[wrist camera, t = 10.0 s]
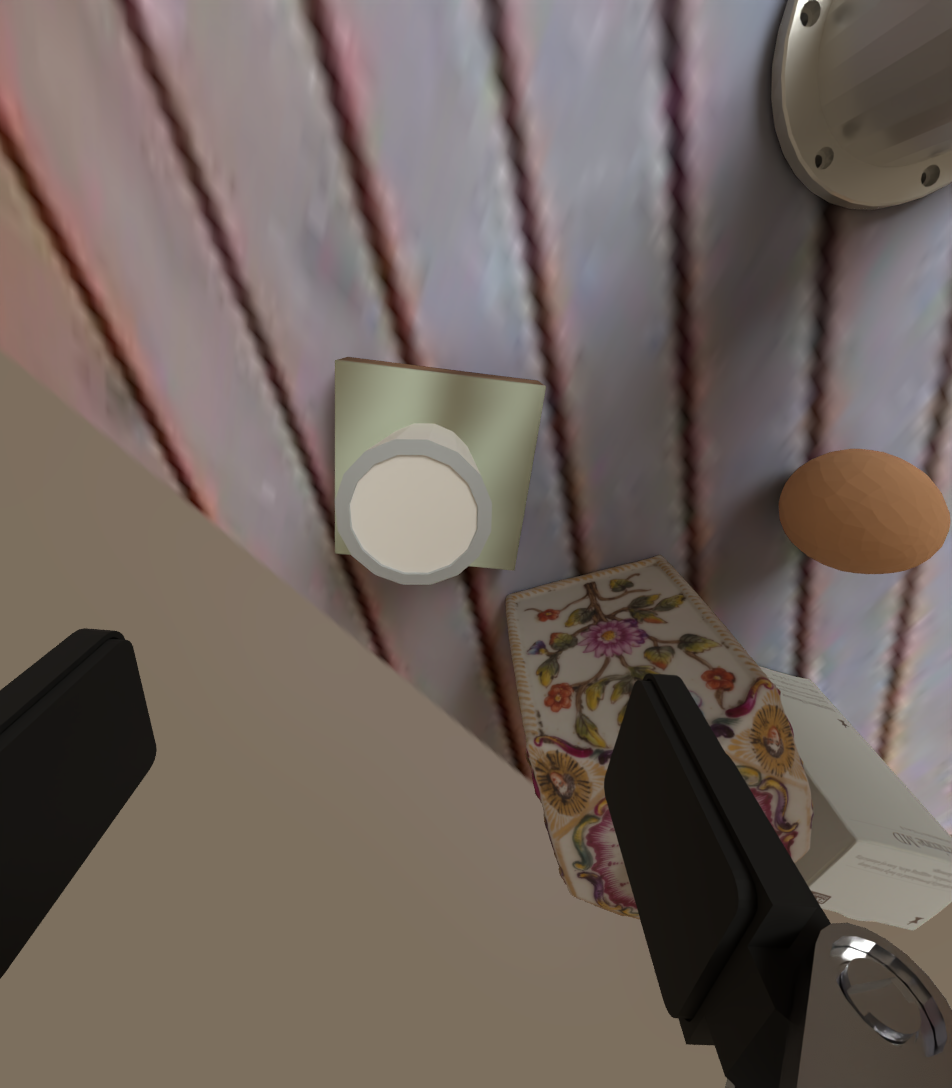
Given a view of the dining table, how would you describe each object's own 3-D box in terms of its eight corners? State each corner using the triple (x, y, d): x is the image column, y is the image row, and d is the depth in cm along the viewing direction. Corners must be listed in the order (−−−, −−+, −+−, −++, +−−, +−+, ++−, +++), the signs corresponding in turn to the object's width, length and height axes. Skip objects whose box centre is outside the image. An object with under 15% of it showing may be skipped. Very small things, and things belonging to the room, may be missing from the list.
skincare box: (810, 677, 38) (1003, 873, 24) (767, 732, 40) (921, 938, 27) (717, 650, 37) (867, 841, 23) (679, 708, 39) (794, 913, 25)
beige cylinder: (411, 549, 29) (397, 611, 23) (338, 455, 27) (299, 496, 20) (508, 489, 28) (522, 538, 21) (441, 384, 25) (433, 405, 19)
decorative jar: (535, 713, 39) (588, 996, 22) (499, 592, 34) (531, 840, 18) (684, 678, 38) (854, 950, 21) (667, 549, 33) (868, 770, 17)
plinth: (538, 380, 28) (545, 386, 25) (510, 550, 33) (514, 570, 30) (347, 356, 27) (335, 360, 25) (346, 533, 32) (334, 553, 29)
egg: (879, 446, 30) (1032, 490, 22) (827, 542, 33) (947, 613, 25) (780, 426, 30) (900, 464, 21) (736, 526, 32) (827, 594, 24)
